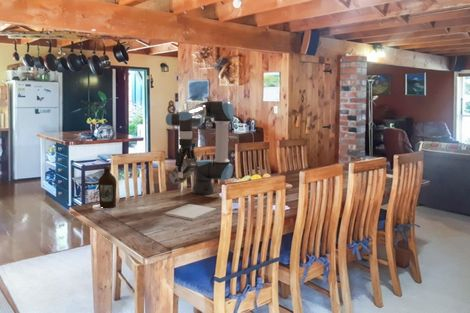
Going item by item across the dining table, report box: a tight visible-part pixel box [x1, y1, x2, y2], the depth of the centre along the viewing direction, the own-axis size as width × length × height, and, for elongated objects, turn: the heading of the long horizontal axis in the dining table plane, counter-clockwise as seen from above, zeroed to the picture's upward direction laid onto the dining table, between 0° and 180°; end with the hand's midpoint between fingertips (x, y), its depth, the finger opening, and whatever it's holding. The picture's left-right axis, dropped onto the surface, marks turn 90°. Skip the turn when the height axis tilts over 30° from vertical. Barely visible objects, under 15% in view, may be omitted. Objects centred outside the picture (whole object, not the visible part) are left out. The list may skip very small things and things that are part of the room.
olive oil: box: [97, 165, 117, 209], centre depth 258 cm, size 11×11×25 cm
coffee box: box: [168, 158, 199, 185], centre depth 250 cm, size 9×6×16 cm
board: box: [164, 203, 217, 221], centre depth 251 cm, size 24×20×1 cm
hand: (185, 176), depth 250 cm, fingers closed on coffee box, 9 cm apart
